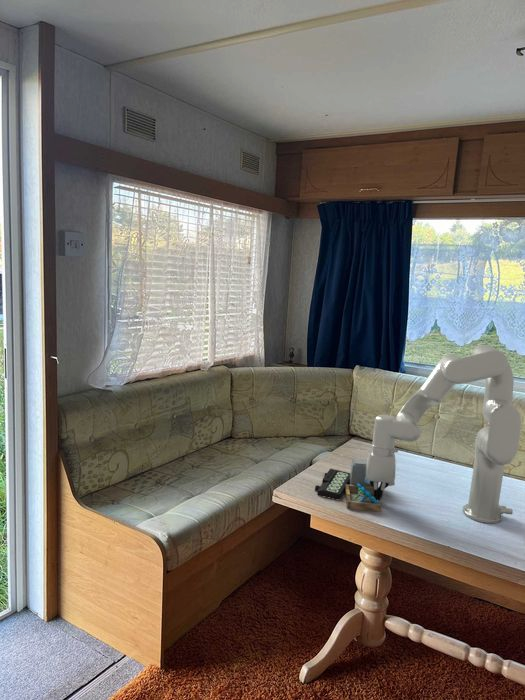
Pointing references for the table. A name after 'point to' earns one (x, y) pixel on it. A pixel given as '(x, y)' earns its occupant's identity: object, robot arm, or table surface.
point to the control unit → (358, 472)
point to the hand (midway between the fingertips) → (377, 499)
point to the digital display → (333, 484)
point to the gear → (365, 494)
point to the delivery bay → (360, 504)
